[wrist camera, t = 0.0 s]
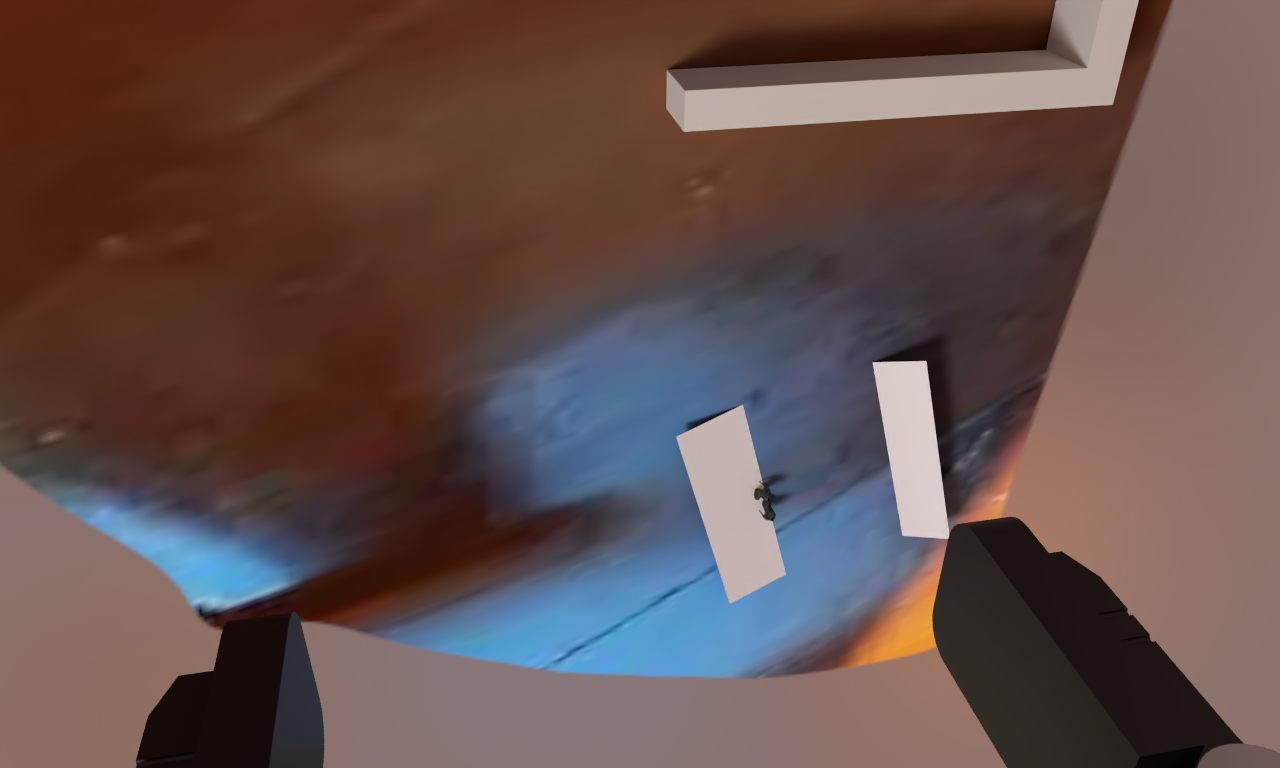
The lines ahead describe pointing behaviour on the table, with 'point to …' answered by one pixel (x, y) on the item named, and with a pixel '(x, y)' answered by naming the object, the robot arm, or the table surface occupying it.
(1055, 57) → the u-shaped bracket
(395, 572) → the table surface
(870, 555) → the table surface
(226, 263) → the table surface
